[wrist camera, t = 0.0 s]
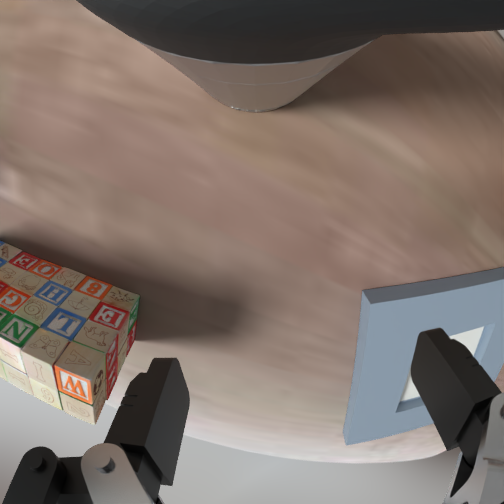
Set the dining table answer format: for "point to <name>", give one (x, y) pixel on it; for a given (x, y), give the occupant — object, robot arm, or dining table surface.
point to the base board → (404, 342)
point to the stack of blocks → (62, 332)
